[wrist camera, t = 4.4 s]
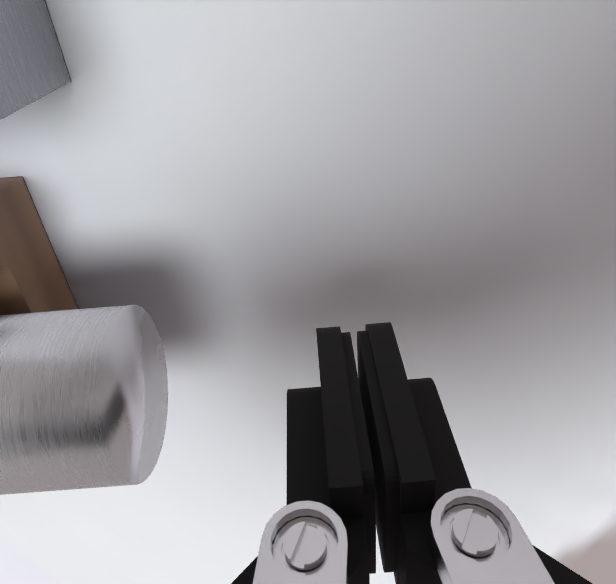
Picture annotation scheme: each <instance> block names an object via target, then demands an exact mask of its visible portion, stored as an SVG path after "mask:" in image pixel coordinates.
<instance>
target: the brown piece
mask: <svg viewBox="0 0 616 584" xmlns="http://www.w3.org/2000/svg"><path fill="white" fill-rule="evenodd" d="M74 309H78V307H77V305H76V303H75V300H74V298H73V296H72V293H71V291H70V289H69V286H68V284H67V281H66V279H65V277H64V274H63V272H62V270H61V267H60V265H59V263H58V260H57V258H56V256H55V253H54V251H53V248H52V246H51V244H50V241H49V239H48V237H47V234H46V232H45V230H44V227H43V225H42V223H41V220H40V218H39V216H38V213H37V211H36V208H35V206H34V204H33V201H32V199H31V197H30V194H29V192H28V190H27V187H26V185H25V183H24V180H23V178H22V177H11V178H0V315H11V314H24V313H37V312H49V311H62V310H74Z"/></svg>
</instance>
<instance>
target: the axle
mask: <svg viewBox="0 0 616 584" xmlns="http://www.w3.org/2000/svg"><path fill="white" fill-rule="evenodd" d="M167 407H168V383H167V370H166V362H165V356H164V351H163V346H162V342H161V339H160V335H159V333H158V330H157V327H156V325H155V323H154V321H153V319H152V317H151V316H150V314H149V313H148V312H147V311H146V310H145V309H144V308H143V307H141V306H139V305H125V306H112V307H100V308H87V309H74V310H62V311H49V312H37V313H24V314H11V315H0V495H1V494H15V493H29V492H42V491H56V490H69V489H83V488H96V487H110V486H124V485H137V484H140V483H142V482H143V481H145V480H146V479H147V478H148V476H149V475H150V474H151V472H152V471H153V469H154V467H155V465H156V463H157V460H158V457H159V455H160V451H161V448H162V444H163V439H164V434H165V428H166V420H167Z"/></svg>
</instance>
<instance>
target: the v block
mask: <svg viewBox="0 0 616 584" xmlns="http://www.w3.org/2000/svg"><path fill="white" fill-rule="evenodd" d="M69 82H71V80H70V77H69V74H68V71H67V68H66V65H65V62H64V58H63V55H62V52H61V49H60V46H59V43H58V40H57V37H56V34H55V31H54V28H53V25H52V22H51V19H50V16H49V13H48V10H47V7H46V3H45V0H0V120H1V119H3V118H4V117H6V116H8V115H10V114H12V113H14V112H16V111H17V110H19V109H21V108H23V107H25V106H27V105H28V104H30V103H32V102H34V101H36V100H38V99H40V98H41V97H43V96H45V95H47V94H49V93H51V92H52V91H54V90H56V89H58V88H60V87H62V86H64V85H65V84H67V83H69Z"/></svg>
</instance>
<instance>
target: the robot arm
mask: <svg viewBox="0 0 616 584" xmlns="http://www.w3.org/2000/svg"><path fill="white" fill-rule="evenodd" d="M316 331H317V344H318V356H319V369H320V381H321V387H312V388H300V389H288V390H287V505H286V506H284V507H283V508H281V509H280V510H279V511H278V512H276V513H275V514H274V515H273V516H272V518H271V519H270V520H269V522H268V523H267V524H266V527H265V530H264V532H263V535H262V539H261V544H260V549H259V554H258V556H257V557H256V558H255V559H254V561H253V562H252V563H251V564H250V565H249V566H248V567H247V568H246V569H245V570H244V571H243V572H242V573H241V574H240V575H239V576H238V577H237V578H236V579H235V580H234V581H233V582H232V583H231V584H369V574H371V573H376V527H377V534H378V540H379V546H380V553H381V559H382V565H383V570H384V572H394V576H395V582H396V584H592V583H590V582H589V581H587V580H586V579H584V578H583V577H581V576H580V575H578V574H576V573H575V572H573V571H572V570H570V569H569V568H567V567H566V566H564V565H563V564H561V563H559V562H558V561H556V560H555V559H553V558H552V557H550V556H549V555H547V554H546V553H544V552H542V551H541V550H539V549H538V548H536V547H535V546H533V545H532V544H531V542H530V540H529V539H528V537H527V535H526V533H525V532H524V530H523V528H522V527H521V525H520V523H519V521H518V520H517V518H516V517H515V515H514V514H513V513H512V511H511V510H510V509H509V507H508V506H507V505H505V504H504V503H503V502H502V501H500V500H499V499H498V498H497V497H495V496H493V495H491V494H489V493H487V492H484V491H482V490H477V489H472V488H471V486H470V483H469V480H468V477H467V474H466V471H465V468H464V466H463V463H462V460H461V457H460V454H459V451H458V449H457V446H456V443H455V440H454V437H453V434H452V432H451V429H450V426H449V423H448V420H447V417H446V414H445V412H444V409H443V406H442V403H441V400H440V397H439V395H438V392H437V389H436V386H435V384H434V381H433V380H432V379H431V378H422V379H410V380H407V376H406V373H405V369H404V366H403V362H402V359H401V355H400V352H399V349H398V345H397V342H396V338H395V335H394V331H393V328H392V325H391V323H390V322H388V323H376V324H366V331H358V332H357V350H358V375H357V370H356V364H355V358H354V352H353V346H352V340H351V335H350V332H345V333H341V329H340V327H328V328H316Z"/></svg>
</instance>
